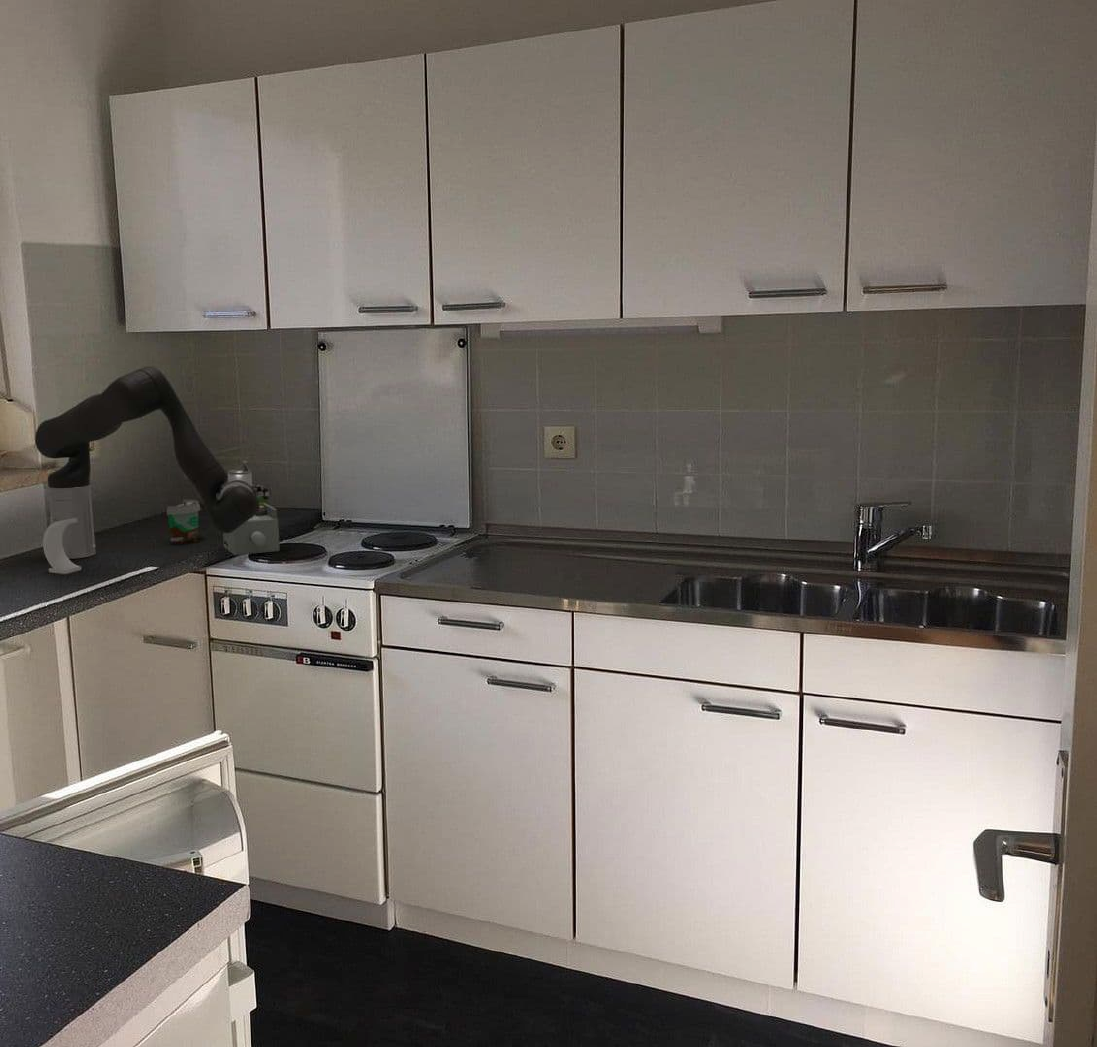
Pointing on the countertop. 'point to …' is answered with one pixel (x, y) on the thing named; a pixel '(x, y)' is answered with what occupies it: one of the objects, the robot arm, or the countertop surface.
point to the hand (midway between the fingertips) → (239, 489)
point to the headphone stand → (58, 548)
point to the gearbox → (255, 533)
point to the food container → (183, 521)
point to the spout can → (241, 474)
